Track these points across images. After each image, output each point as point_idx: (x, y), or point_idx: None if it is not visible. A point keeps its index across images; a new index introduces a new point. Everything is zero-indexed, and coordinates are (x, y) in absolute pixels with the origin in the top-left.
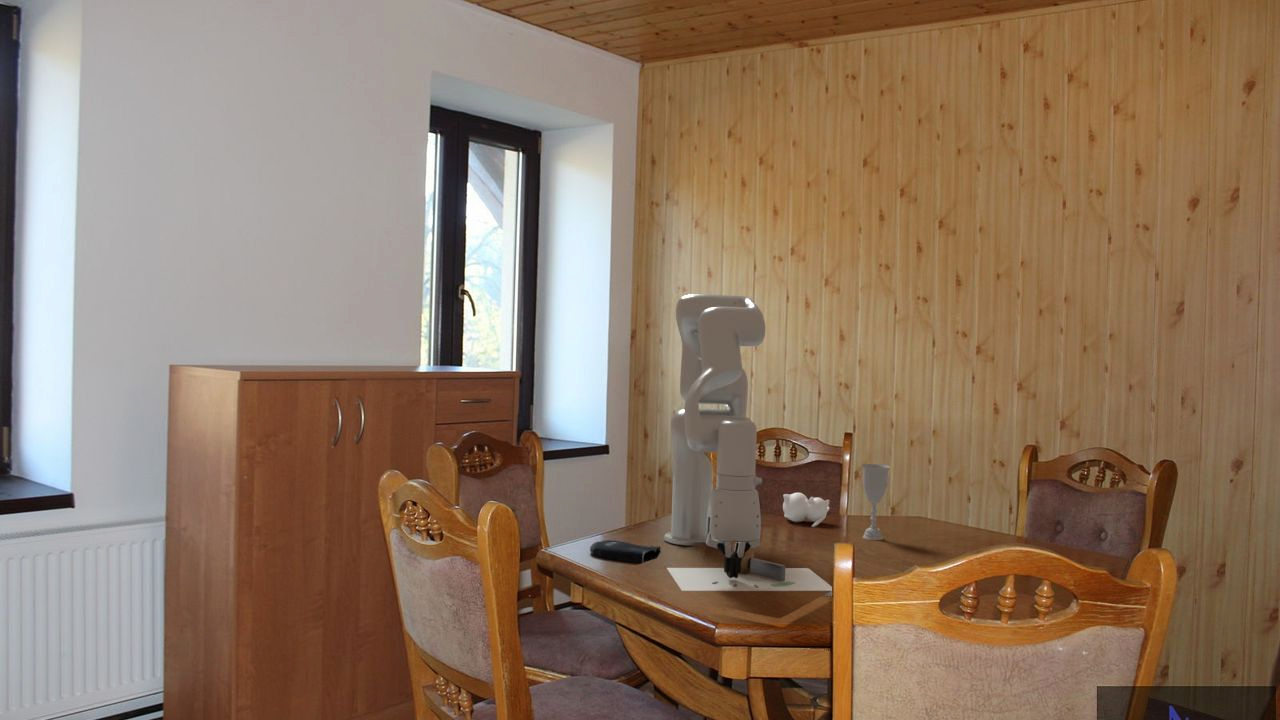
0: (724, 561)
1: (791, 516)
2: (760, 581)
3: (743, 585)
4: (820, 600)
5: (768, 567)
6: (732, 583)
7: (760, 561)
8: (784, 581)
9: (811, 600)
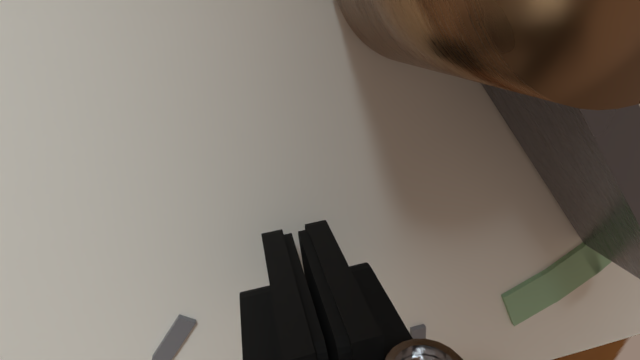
0: (244, 356)
1: None
2: (473, 235)
3: None
4: (618, 347)
5: (606, 213)
6: None
7: (608, 170)
8: None
9: (587, 356)
